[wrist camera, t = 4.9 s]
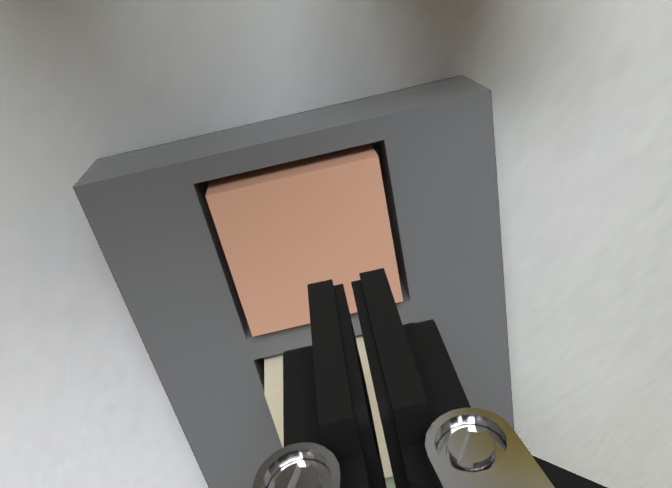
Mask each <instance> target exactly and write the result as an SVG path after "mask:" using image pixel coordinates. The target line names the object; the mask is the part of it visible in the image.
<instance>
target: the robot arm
mask: <svg viewBox="0 0 672 488" xmlns="http://www.w3.org/2000/svg"><path fill="white" fill-rule="evenodd" d="M359 275H360V280H357V281H352V282H351V284H352V289H353V294H354V298H355V303H356V308H357V312H358V317H359V322H360V326H361V331H362V335H363V340H364V345H365V349H366V354H367V359H368V363H369V368H370V373H371V377H372V382H373V387H374V391H375V396H376V400H377V405H378V410H379V414H380V419H381V423H382V428H383V432H384V437H385V442H386V446H387V451H388V455H389V460H390V464H391V469H392V473H393V478H394V483H395V487H396V488H607V487H604V486H602V485H600V484H597V483H595V482H593V481H590V480H588V479H586V478H583V477H581V476H579V475H576V474H574V473H572V472H569V471H567V470H565V469H562V468H560V467H558V466H555V465H553V464H551V463H548V462H546V461H544V460H542V459H539V458H537V457H535V456H532V455H531V454H530V452H529V451H528V449H527V448H526V447H525V445H524V444H523V442H522V441H521V440H520V438H519V437H518V435H517V434H516V432H515V431H514V430H513V428H512V427H511V426H510V425H509V424H508V423H507V422H506V421H505V420H504V419H503V418H502V417H500V416H498V415H496V414H495V413H493V412H491V411H487V410H484V409H480V408H471V406H470V404H469V402H468V399H467V397H466V395H465V392H464V390H463V387H462V385H461V383H460V380H459V378H458V375H457V373H456V371H455V368H454V366H453V363H452V361H451V359H450V356H449V354H448V352H447V349H446V347H445V344H444V342H443V340H442V337H441V335H440V332H439V330H438V328H437V325H436V323H435V321H434V320H433V319H431V320H427V321H422V322H418V323H413V324H408V325H404V326H403V325H402V322H401V318H400V315H399V312H398V309H397V306H396V303H395V300H394V297H393V294H392V291H391V288H390V285H389V282H388V279H387V276H386V273H385V270H384V268H381V269H376V270H372V271H367V272H362V273H359ZM307 288H308V300H309V312H310V324H311V336H312V345H311V346H306V347H302V348H297V349H292V350H288V351H284V353H283V432H284V448H282V449H279V450H277V451H276V452H274V453H273V454H272V455H271V456H270V457H268V458H267V459H266V460H265V461H264V463H263V464H262V465H261V467H260V468H259V469H258V471H257V473H256V476H255V479H254V481H253V485H252V488H387V487H386V482H385V477H384V472H383V467H382V462H381V457H380V452H379V447H378V441H377V436H376V431H375V426H374V421H373V416H372V411H371V406H370V401H369V396H368V391H367V387H366V382H365V377H364V373H363V369H362V364H361V360H360V355H359V351H358V347H357V342H356V338H355V334H354V329H353V325H352V320H351V316H350V312H349V307H348V303H347V298H346V294H345V290H344V285H343V284H339V285H334V284H333V281H332V279H330V280H326V281H321V282H316V283H312V284H308V285H307Z"/></svg>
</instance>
